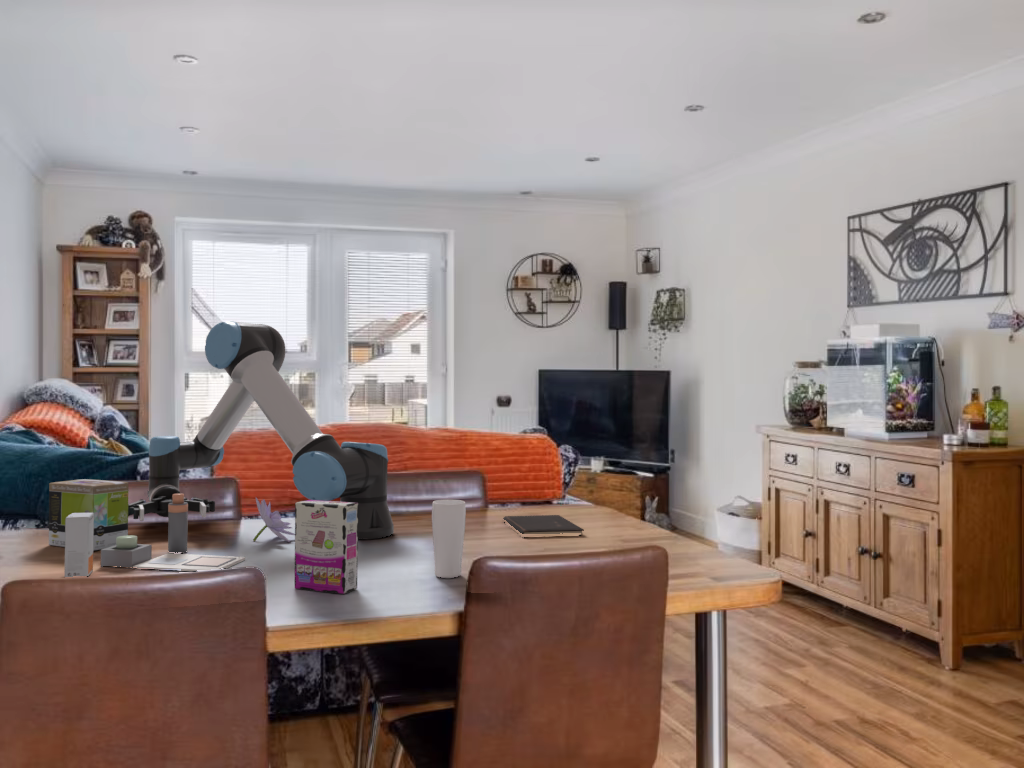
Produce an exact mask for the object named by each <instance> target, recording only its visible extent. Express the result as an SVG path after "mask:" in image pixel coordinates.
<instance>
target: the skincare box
mask: <svg viewBox="0 0 1024 768" xmlns="http://www.w3.org/2000/svg"><path fill="white" fill-rule="evenodd" d="M93 533H94V513H72V514H70V515H68V517H66V519H65V547H64V576H63V577H73V576H88V577H89V576H90V575H91V574H92V572H94V551H93Z"/></svg>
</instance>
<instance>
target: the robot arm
mask: <svg viewBox="0 0 1024 768" xmlns="http://www.w3.org/2000/svg"><path fill="white" fill-rule="evenodd" d="M204 354H205V357H206V360H207V361H208V363H209V365H210V366H212V367H214V368H216V369H218V370H224V371H226V373H227V374H228V376H229V377H230V379H231V380H232V382H231V383H230V384H229V386H228V387H227V389H226V390H225V392H224V394H223V395H222V397H221V398H220V400H219V401H218V402H217V404H216V406H215V407H214V408H213V410H212V412H211V413H210V414H209V415H208V417H207V419H206V420H205V422H204V424H203V425H202V427H201V428H200V430H199V431H198V433H197V435H196V436H195V437H194V438H193V440H192V441H191V440H190V441H181V440H180V437H179V436H176V435H159V436H158V435H157V436H156V435H155V436H152V437H151V439H150V440H149V447H148V461H149V462H148V467H149V468H148V472H149V473H148V489H149V491H148V490H147V495H148V497H149V500H148V501H147V500H146V499H143V498H140V499H138V500H137V501H134V502H132V503H128V517H129V516H133V517H132V518H133V520H139V521H140V522H144V521H145V515H146V514H156V515H158V516H159V517H163V518H168V513H169V512H168V504H169V503H172V498H173V494H182V493H181V491H180V471H184V470H192V469H193V470H194V469H202V468H203V469H207V468H210V467H215V466H218V465H219V464H221V462H222V460H223V459H224V454H225V448H224V445H225V444H226V443H227V440H228V439H229V437H230V436H231V435H232V434H233V432H234V430H235V429H236V427H237V426H238V425H239V423H240V422H241V420H242V419H243V417H245V414H246V413H247V412H248V410H249V409H250V407H251V405H252V404H253V403H254V402H255V403H256V405H258V407H259V409H260V410H261V411H262V413H263V415H265V416H264V417H266V419H267V420H268V421H269V423H270V425H272V427H273V429H274V430H275V431H276V433H277V434H278V436H280V438H281V440H282V441H283V443H285V445H286V447H287V448H288V450H289V451H290V452H291V454H292V458H291V460H290V463H291V465H292V466H293V467H292V474H293V477H292V480H293V484H294V487H296V489H297V491H298V492H299V493H300V494H301V495H302V496H303V497H304V498H306V499H308V500H320V501H334V500H335V499H340V501H339V502H351V503H358V540H372V539H373V540H374V539H376V540H377V539H382V537H383V538H387V537H386V536H388V537H391V536H392V535H391V534H393V533H394V532H395V531H394V529H395V528H394V522H393V519H392V515H391V512H390V510H389V506H388V463H389V458H388V449H387V447H386V446H385V445H383V444H379V443H370V442H355V441H343V442H341V445H340V444H339V443H338V441H337V440H336V439H335V437H334V435H331V434H329V433H323V432H322V430H321V429H320V428H319V426H318V425H317V423H316V422H315V420H314V419H313V418H312V417H311V414H309V413H308V411H307V409H305V407H304V406H303V404H302V403H301V402H300V400H299V399H298V398H297V396H296V395H295V393H294V391H292V389H291V388H290V387H289V385H288V384H287V382H286V380H284V378H283V377H282V376H281V374H280V373H279V371H280V370H281V368H282V366H283V364H284V361H285V357H286V344H285V341H284V338H283V336H282V334H280V332H279V331H278V330H277V329H275V327H272V326H270V325H267V324H265V323H264V324H263V323H251V322H250V323H249V322H242V321H241V322H239V321H234V320H232V321H221V322H219V323H216V324H215V325H214V326H213V327H212V328H211V329H210V330H209V332H208V334H207V335H206V338H205V345H204ZM148 497H147V498H148ZM149 501H150V502H149ZM184 502H187V503H188V512H197V513H199V514H200V516H201V517H202V518H207V513H210V512H211V513H214V512H215V511H216V501H214V500H209V498H205V499H204V498H198V497H196V496H193V497H191V498H190V500H189V499H188V498H187V497H184ZM390 535H391V536H390ZM393 535H394V534H393Z"/></svg>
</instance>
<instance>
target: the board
mask: <svg viewBox="0 0 1024 768" xmlns="http://www.w3.org/2000/svg"><path fill="white" fill-rule="evenodd" d="M245 560H246V556H232V555H230V556H229V555H213V554H212V555H211V554H191V553H189V554H188V553H183V554H174V553H168V552H167V553H165V554H162V555H160V556H157V557H154V558H152V559H151V560H148V561H145V562H143V563H140V564H137V565H135V566H133V567H137V568H154V569H181V571H197V570H211V569H221V568H226V569H229V568H230V567H232V566H235V565H237V564H240V563H241V562H243V561H245Z"/></svg>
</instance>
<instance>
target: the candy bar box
mask: <svg viewBox="0 0 1024 768" xmlns="http://www.w3.org/2000/svg"><path fill="white" fill-rule="evenodd" d="M294 509H295V510H294V515H295V516H294V522H295V523H294V525H295V526H294V534H295V535H294V589H296V590H301V591H302V590H303V591H312V592H321V593H331V594H341V595H344V594H347V593H350V592H353V591H355V590H357V589H358V554H359V553H358V549H359V548H358V547H359V545H358V542H359V541H358V540H359V539H358V503H351V502H340V501H334V500H330V501H320V500H310V499H308V500H301V501H297V502H295V505H294Z"/></svg>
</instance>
